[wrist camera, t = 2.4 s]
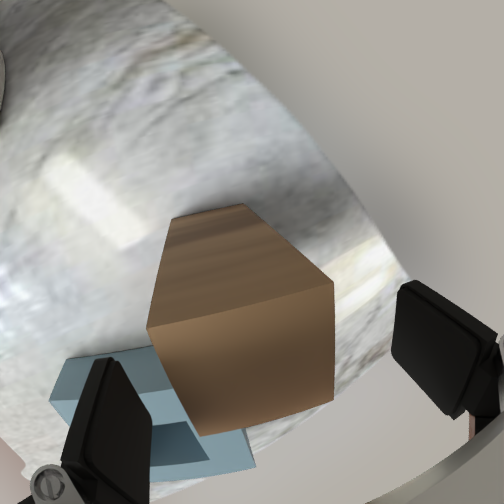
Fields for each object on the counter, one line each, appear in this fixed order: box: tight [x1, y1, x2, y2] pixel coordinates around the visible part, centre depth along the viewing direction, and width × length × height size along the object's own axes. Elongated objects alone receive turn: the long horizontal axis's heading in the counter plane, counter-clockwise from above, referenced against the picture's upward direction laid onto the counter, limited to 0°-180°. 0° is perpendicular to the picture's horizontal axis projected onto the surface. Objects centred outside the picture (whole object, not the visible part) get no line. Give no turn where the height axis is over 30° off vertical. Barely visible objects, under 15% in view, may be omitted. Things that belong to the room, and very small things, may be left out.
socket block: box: [49, 346, 256, 482], centre depth 19 cm, size 13×13×5 cm
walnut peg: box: [146, 204, 335, 437], centre depth 13 cm, size 5×5×12 cm
